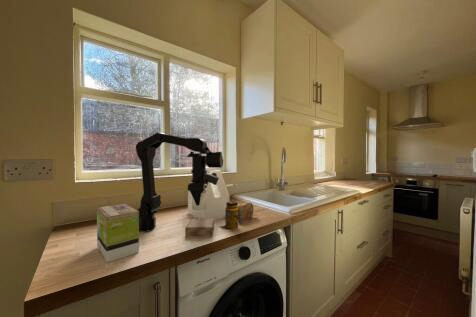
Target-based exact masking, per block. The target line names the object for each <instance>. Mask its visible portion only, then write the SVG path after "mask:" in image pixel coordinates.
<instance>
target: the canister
mask: <svg viewBox="0 0 476 317" xmlns="http://www.w3.org/2000/svg"><path fill="white" fill-rule="evenodd" d="M192 209H193V210H204V209H206V190H204V191H203V192H202V193H201V198H200V204H199V205H196V203H195V201H194V199H193V196H192Z"/></svg>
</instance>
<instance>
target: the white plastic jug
mask: <svg viewBox="0 0 476 317" xmlns="http://www.w3.org/2000/svg"><path fill="white" fill-rule="evenodd" d="M213 173H216V174H217V177H219V179H218V182H217V184H216V185H214V184H212V183H210V182H208V185H207V187H206V188H205V190H206V209H204V210H193V209H192V194H191V192H190V191H189V190H188V192H187V197H188V198H187V213H188V214H189V215H191V216H193V217H194V218H196V219H214V220H218V219H221V218H225V209H226V205H227V204H226V203H227V202H228V201H230V193H229V191H228V188H227V184H226V183H225V182H226V181H225V180H224V176H223V174H222V170H219V169H217V170H210V171H209V173H208V174H213ZM205 185H206V184H205Z"/></svg>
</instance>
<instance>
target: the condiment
mask: <svg viewBox="0 0 476 317" xmlns="http://www.w3.org/2000/svg"><path fill="white" fill-rule="evenodd" d="M226 204H227V205H226V209H225V217H224V218H225V223H224V225H218V228H219V229H221V230H223V231H224V232H225V233H227V232H231V231H237V230H240V229H242V227H240V226H239V221H238V206H239V205H238V201H236V200H229V201H228V202H227V203H226Z"/></svg>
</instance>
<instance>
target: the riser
mask: <svg viewBox="0 0 476 317" xmlns="http://www.w3.org/2000/svg"><path fill="white" fill-rule="evenodd" d="M214 228H215V219H199V218H195V219H193V218H190V219H189V220H188V222H187V224H186V226H185V232H184V234H185V235H184V236H185V238H213V235H214Z"/></svg>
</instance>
